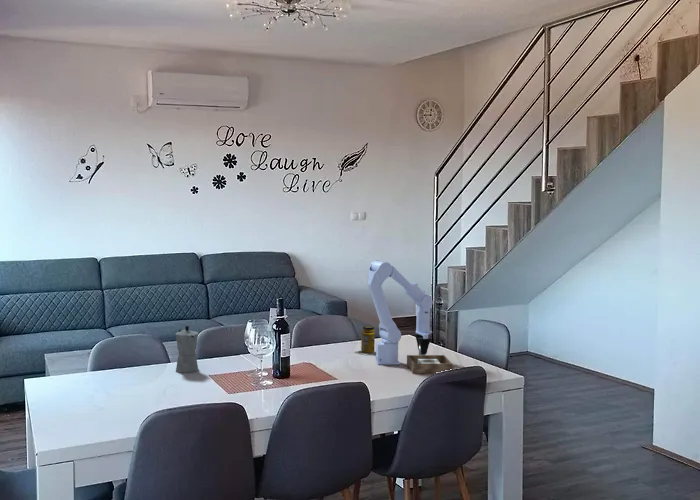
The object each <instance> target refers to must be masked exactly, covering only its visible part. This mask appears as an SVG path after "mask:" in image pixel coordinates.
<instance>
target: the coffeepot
mask: <svg viewBox="0 0 700 500" xmlns="http://www.w3.org/2000/svg"><path fill="white" fill-rule="evenodd" d="M189 327H190V326H189V325H186V326H185V327H184V328H185V329H183V328H179V329H178V332H175V338H176V347H177V351H178V354H177V361H176V367H175V372H177V373H181V374H189V373H191V374H192V373H196V372H198V371H199V365H198V360H197V354H196V351H197V345H198V338H199V332H198V331H196V330H195V331H194V330H190V329H189Z"/></svg>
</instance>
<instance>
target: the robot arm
mask: <svg viewBox="0 0 700 500" xmlns="http://www.w3.org/2000/svg"><path fill="white" fill-rule="evenodd" d="M388 278H391V279H393V280H394V281H395V282H396V283H398V284H399V285H400V286H401V287H402V288H403V291H404V293H405V294H406V295H407V296H408V298H410V299H412V301H413V302H414V304H415V305H416V325H415V326H416V328H415V333H414V337H415V340H416V343H417V350H418V351H419V346H420V347H421V354H426V355H428V354H427V353H428V349H429V346H430V343H431V341H432V338H430V337H429V335H430V334H433V331H432V330H430V329H431V328H430V327H431V326H430V324H431V323H430V321H431V319H430V317H431V307H432V306H433V303H434V302H433V301H434V300H432V297H431V295H429V294H426V291H425V290H423V289H421V287H419V284H418V283H417V282H413V281H411V282H410V281H409V280H408V279H406V277H405V276H404V275H403V274H401V272H400V271H399V270H398V269H397V268H396V267H395V266H393V265H392V264H391V263H390V262H387V261H381V260H374V261H372V262H371V264H370V265H369V267H368V280H367V287H368V290H369V292H370V296H371V298H372V299H371V300H372V302H373V305H374V308H375V311H376V314H377V316H378V319H379V324H378V328H379V329H378V330H379V332H378V334H379V337H380V338H381V341H380V342H376V343H375V344H376V345H375V346H376V347H375V348H376V349H375V352H376V353H375V361H376V363H377V365H384V366H385V365H391V366H392V365H395V366H396V365H401V363H400V361H399V342H400V340H401V338H402V332H401V330H400V329H399V328H398V326H397V324H396V323H395V322H394V320H393V318H392V315H391V312H390V309H389V305H388V302H387V300H386V297H385V294H384V290H383V288H382V285H383V284H384V282H385V281H386V280H387V279H388Z"/></svg>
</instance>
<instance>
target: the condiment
mask: <svg viewBox="0 0 700 500" xmlns="http://www.w3.org/2000/svg"><path fill="white" fill-rule="evenodd" d="M375 335H376V334H375V326H374V325H373V326H372V325H363V326H362V331H361V340H360V341H361V343H360V344H361V346H360V349H361V350H358V351H354V353H356V354H358V355H364V356H366V355H372V354H373V355H374V354H376V351H375V344H376V343H375V338H376V337H375Z"/></svg>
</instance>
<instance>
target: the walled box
mask: <svg viewBox="0 0 700 500" xmlns="http://www.w3.org/2000/svg"><path fill="white" fill-rule="evenodd" d="M407 365H408V366H407ZM406 366H407V367H408V369H409V370H410V371H411V373H412V375H415V374H414V373H430V374H431V375H434V373H436V372H441V371H445V370H450V369H452V370H453V366H454V365H453V363H452V362H451V361H450V360H449V359H448V358H447V356H445V355H444V354H439V355H437V354H436V355H435V354H426V355H419V354H407V355H406ZM430 374H429V375H430Z"/></svg>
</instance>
